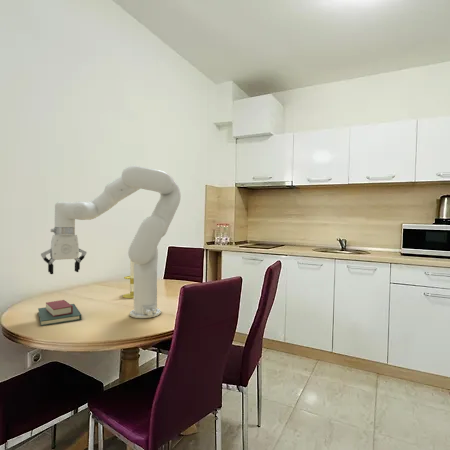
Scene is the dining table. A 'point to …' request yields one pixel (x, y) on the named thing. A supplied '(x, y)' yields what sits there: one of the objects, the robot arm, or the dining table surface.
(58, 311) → the burgundy book
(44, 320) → the green book
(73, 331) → the dining table surface
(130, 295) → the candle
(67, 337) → the dining table surface
